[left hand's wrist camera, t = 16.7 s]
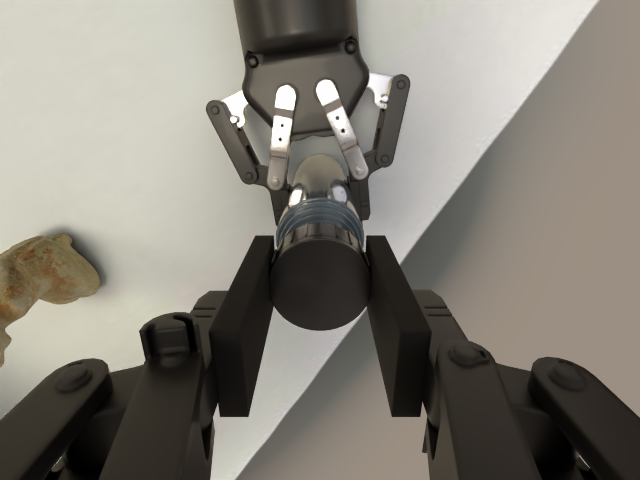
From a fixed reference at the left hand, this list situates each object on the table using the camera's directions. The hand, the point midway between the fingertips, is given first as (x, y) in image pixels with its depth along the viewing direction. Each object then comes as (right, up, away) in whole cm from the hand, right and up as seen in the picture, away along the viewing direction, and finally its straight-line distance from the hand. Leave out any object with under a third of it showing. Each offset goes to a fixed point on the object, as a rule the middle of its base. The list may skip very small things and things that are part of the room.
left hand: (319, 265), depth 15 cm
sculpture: (-25, -1, +20) cm, 32 cm away
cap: (0, -1, -2) cm, 2 cm away
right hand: (0, +2, +12) cm, 13 cm away
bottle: (0, +7, +17) cm, 19 cm away
